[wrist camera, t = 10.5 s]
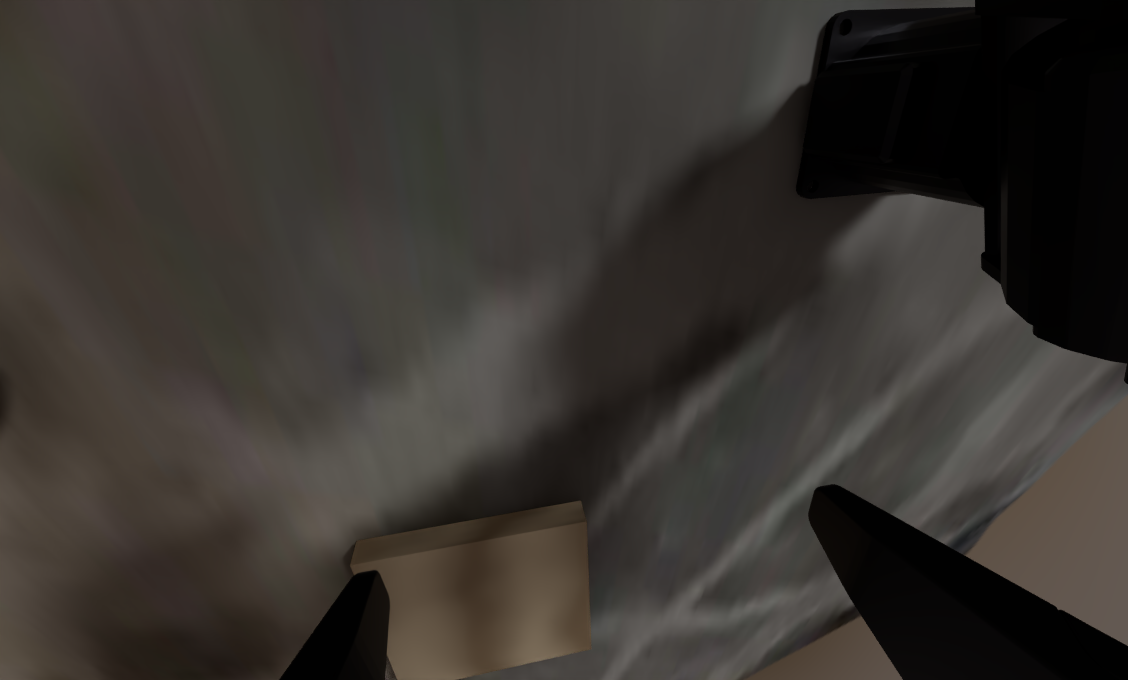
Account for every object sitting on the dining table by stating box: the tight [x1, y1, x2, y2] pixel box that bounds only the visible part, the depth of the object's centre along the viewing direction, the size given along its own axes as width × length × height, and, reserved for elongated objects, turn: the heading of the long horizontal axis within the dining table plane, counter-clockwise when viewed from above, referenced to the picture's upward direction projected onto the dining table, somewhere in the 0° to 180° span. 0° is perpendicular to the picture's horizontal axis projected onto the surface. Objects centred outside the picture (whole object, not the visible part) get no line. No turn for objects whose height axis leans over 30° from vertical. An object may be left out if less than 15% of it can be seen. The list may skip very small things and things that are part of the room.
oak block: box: [350, 500, 591, 680], centre depth 27 cm, size 12×12×2 cm
